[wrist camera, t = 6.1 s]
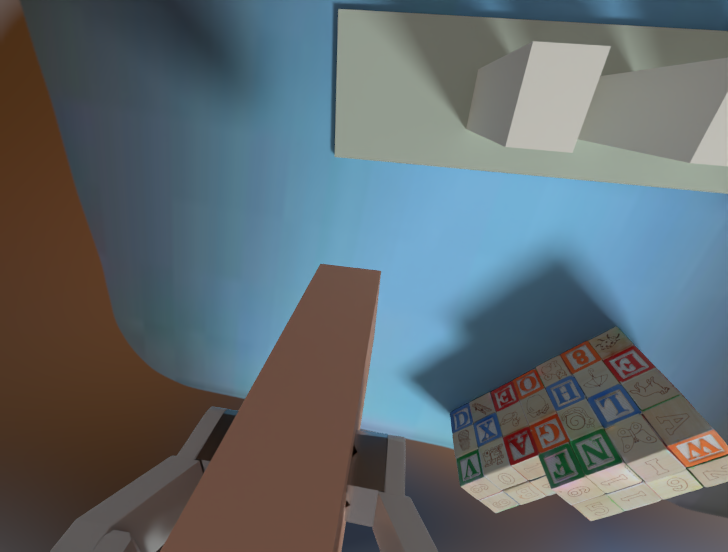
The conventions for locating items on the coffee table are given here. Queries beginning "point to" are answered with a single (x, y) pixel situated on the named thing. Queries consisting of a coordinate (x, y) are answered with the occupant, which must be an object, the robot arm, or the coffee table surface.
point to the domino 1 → (292, 431)
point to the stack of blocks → (587, 434)
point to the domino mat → (456, 87)
